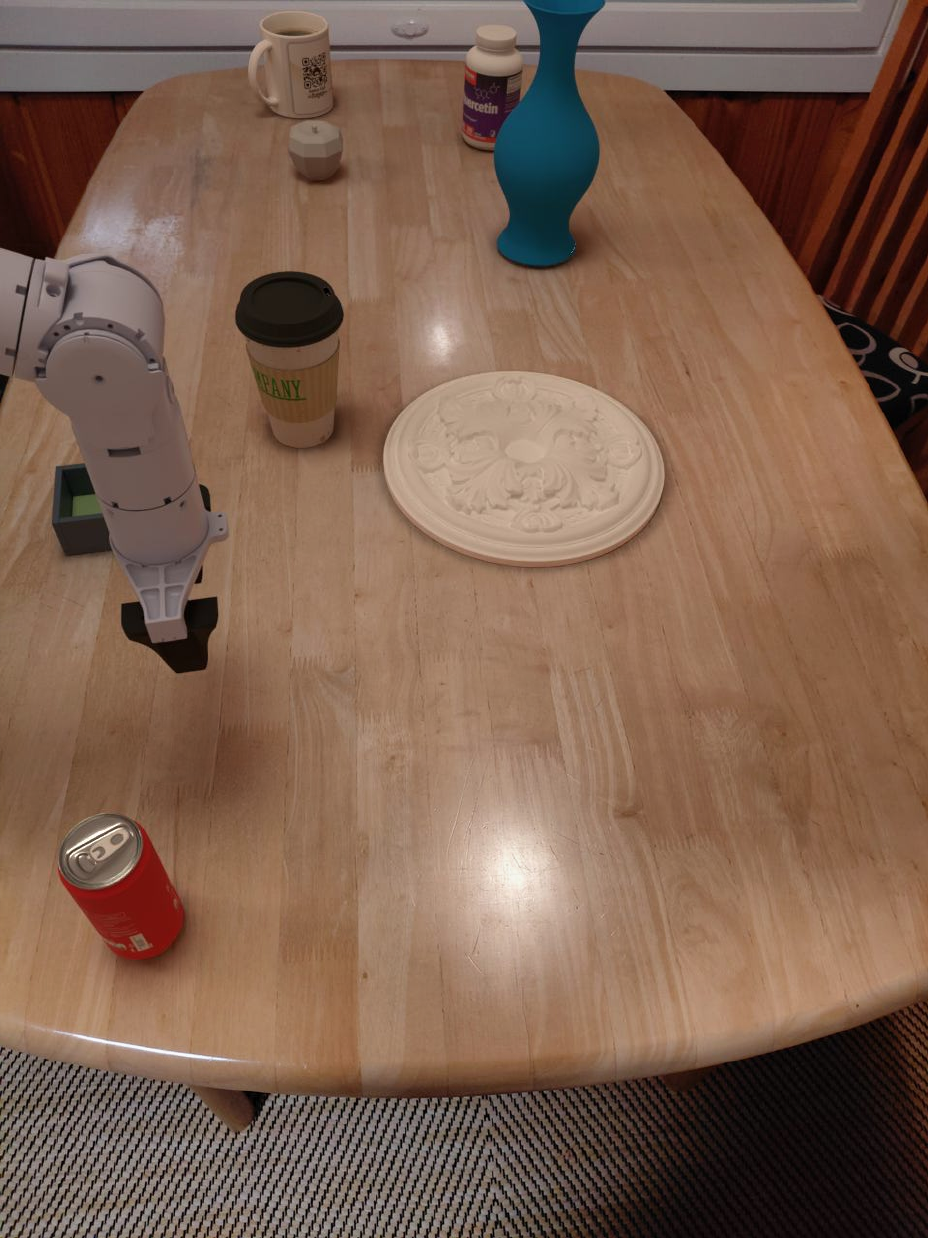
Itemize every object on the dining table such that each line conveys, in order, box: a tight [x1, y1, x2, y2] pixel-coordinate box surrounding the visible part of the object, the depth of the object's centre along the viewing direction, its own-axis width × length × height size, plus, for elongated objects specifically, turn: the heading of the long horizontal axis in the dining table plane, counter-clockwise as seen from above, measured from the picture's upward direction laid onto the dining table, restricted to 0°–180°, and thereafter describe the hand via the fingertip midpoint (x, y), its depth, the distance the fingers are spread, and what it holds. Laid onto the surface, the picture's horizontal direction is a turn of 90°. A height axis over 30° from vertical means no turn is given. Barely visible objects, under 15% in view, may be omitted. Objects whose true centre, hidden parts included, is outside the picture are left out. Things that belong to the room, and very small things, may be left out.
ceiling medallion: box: [382, 370, 666, 568], centre depth 92 cm, size 28×28×3 cm
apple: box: [287, 119, 344, 181], centre depth 126 cm, size 8×8×7 cm
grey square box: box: [51, 462, 112, 556], centre depth 84 cm, size 7×7×4 cm
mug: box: [247, 10, 334, 119], centre depth 137 cm, size 10×12×11 cm
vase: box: [493, 0, 606, 268], centre depth 108 cm, size 12×13×28 cm
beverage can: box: [57, 812, 184, 961], centre depth 58 cm, size 5×5×12 cm
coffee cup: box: [234, 270, 345, 449], centre depth 89 cm, size 10×10×15 cm
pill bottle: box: [461, 24, 524, 152], centre depth 132 cm, size 8×8×14 cm
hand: (188, 623), depth 64 cm, fingers open, 7 cm apart
